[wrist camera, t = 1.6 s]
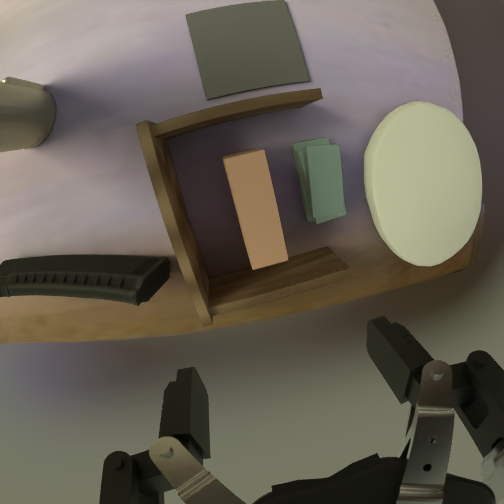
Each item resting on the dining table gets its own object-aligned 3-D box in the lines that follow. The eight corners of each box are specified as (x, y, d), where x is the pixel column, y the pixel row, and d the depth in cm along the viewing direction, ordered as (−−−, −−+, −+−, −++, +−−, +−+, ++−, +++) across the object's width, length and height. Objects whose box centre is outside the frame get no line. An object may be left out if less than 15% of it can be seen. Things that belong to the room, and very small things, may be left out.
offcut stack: (289, 143, 36) (299, 143, 31) (325, 137, 36) (339, 137, 31) (303, 219, 40) (315, 229, 35) (337, 211, 40) (352, 219, 35)
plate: (339, 147, 32) (451, 77, 29) (323, 151, 38) (429, 84, 35) (418, 304, 39) (503, 216, 36) (399, 289, 45) (482, 210, 42)
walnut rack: (154, 129, 32) (135, 124, 24) (298, 94, 33) (322, 81, 25) (204, 291, 42) (203, 326, 33) (328, 257, 42) (354, 283, 34)
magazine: (179, 281, 31) (-35, 306, 19) (181, 306, 32) (-26, 328, 20) (161, 236, 45) (5, 257, 33) (162, 254, 46) (9, 274, 35)
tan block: (221, 156, 35) (223, 159, 26) (251, 149, 35) (264, 149, 26) (243, 240, 39) (252, 269, 30) (270, 232, 40) (288, 260, 30)
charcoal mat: (185, 15, 26) (185, 14, 26) (283, 1, 27) (284, 0, 27) (207, 99, 32) (206, 99, 31) (308, 81, 32) (309, 80, 32)
